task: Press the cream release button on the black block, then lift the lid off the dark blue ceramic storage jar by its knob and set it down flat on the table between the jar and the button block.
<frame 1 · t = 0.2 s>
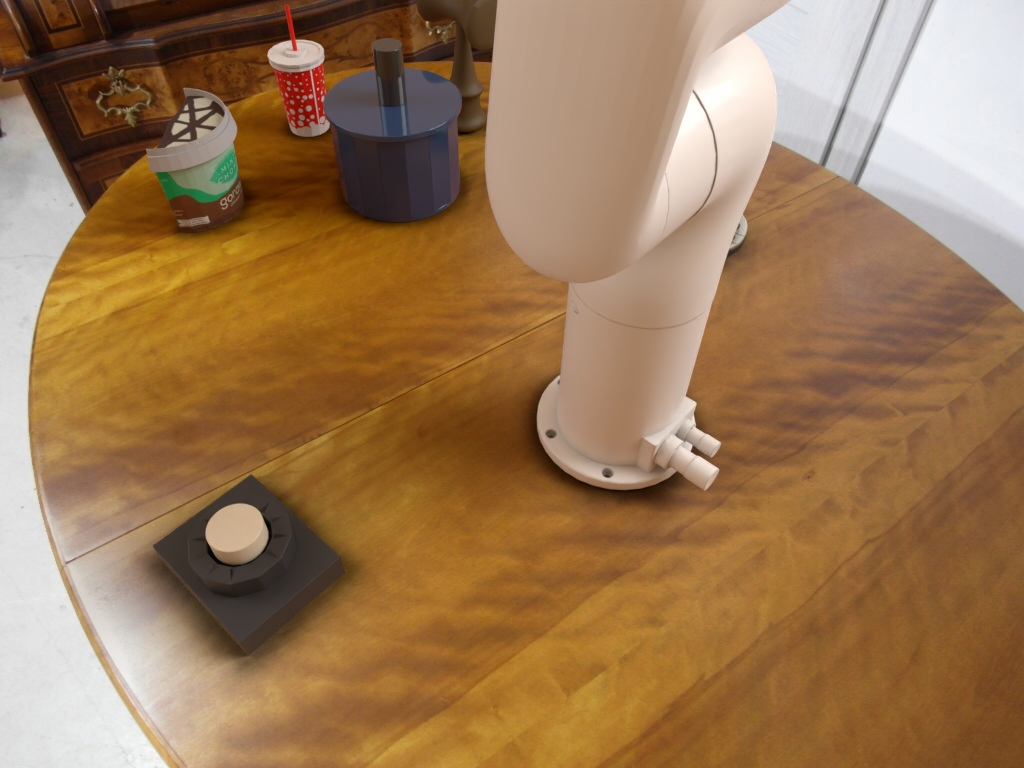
kendama: (465, 126, 93), on the table
jar: (401, 187, 84), on the table
button block: (253, 567, 54), on the table
release button: (237, 533, 50), point 4 cm above the table, slide at 0.1 cm
food container: (225, 207, 81), on the table
jar lid: (393, 105, 77), point 9 cm above the table, touching jar
salad plate: (652, 227, 80), on the table
beverage cup: (310, 128, 92), on the table
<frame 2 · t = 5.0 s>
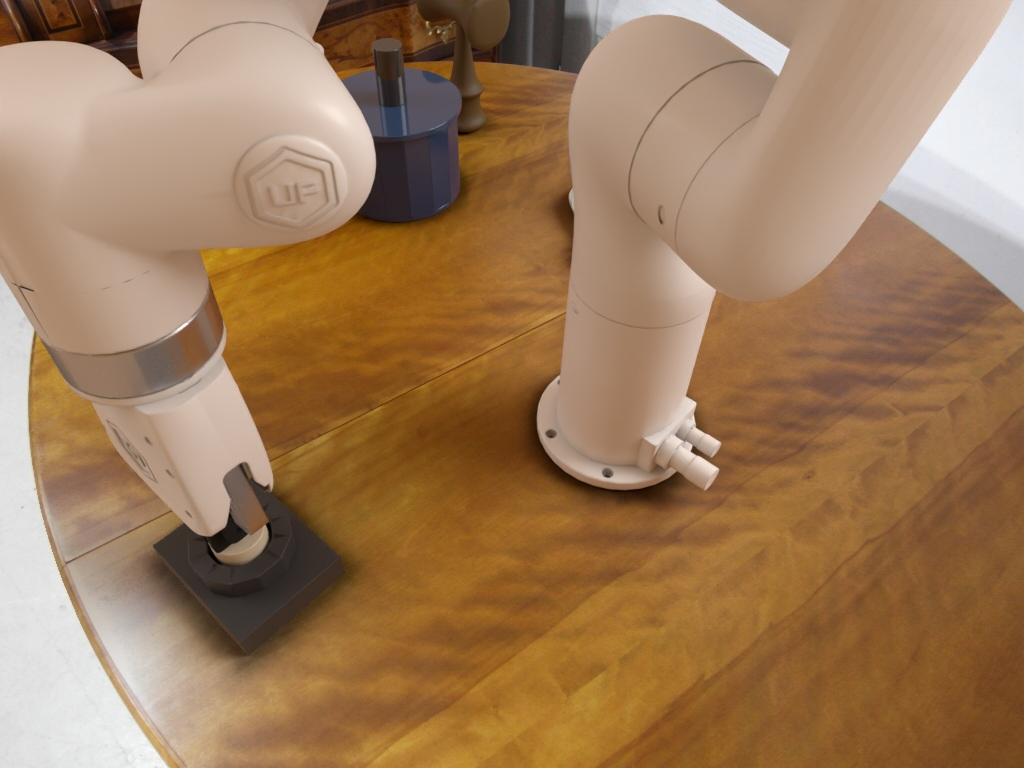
hand: (231, 531, 50), 5 cm above the table, tool pointing down, fingers closed
release button: (239, 537, 51), point 4 cm above the table, slide at -0.3 cm, touching gripper
everything else where it was.
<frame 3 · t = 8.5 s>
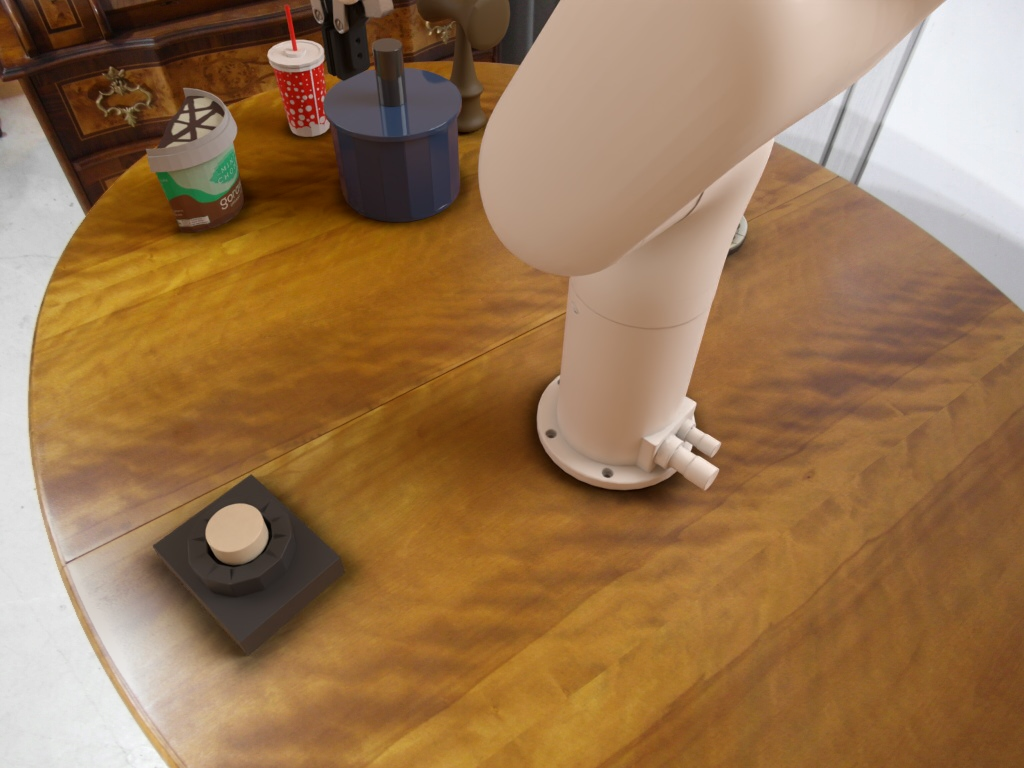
hand: (349, 71, 64), 18 cm above the table, tool pointing down, fingers closed
release button: (237, 533, 50), point 4 cm above the table, slide at 0.1 cm
everything else where it was.
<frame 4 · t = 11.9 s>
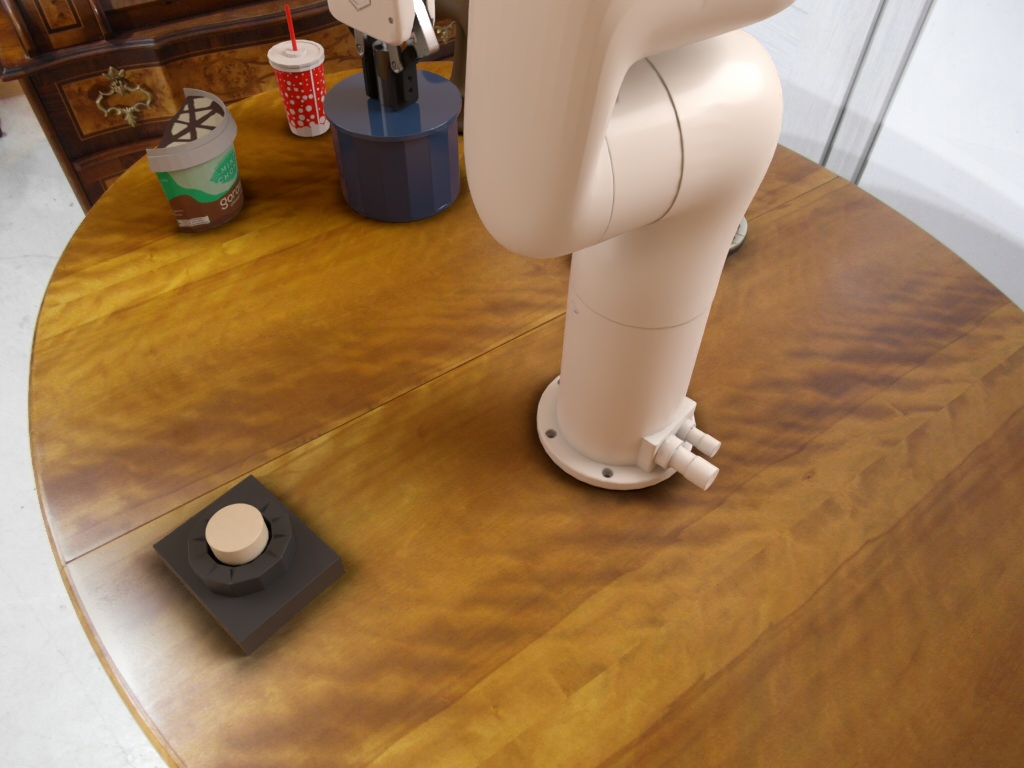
hand: (392, 97, 76), 10 cm above the table, tool pointing down, fingers closed on jar lid, 2 cm apart
jar lid: (393, 105, 77), point 10 cm above the table, touching gripper, jar
everything else where it was.
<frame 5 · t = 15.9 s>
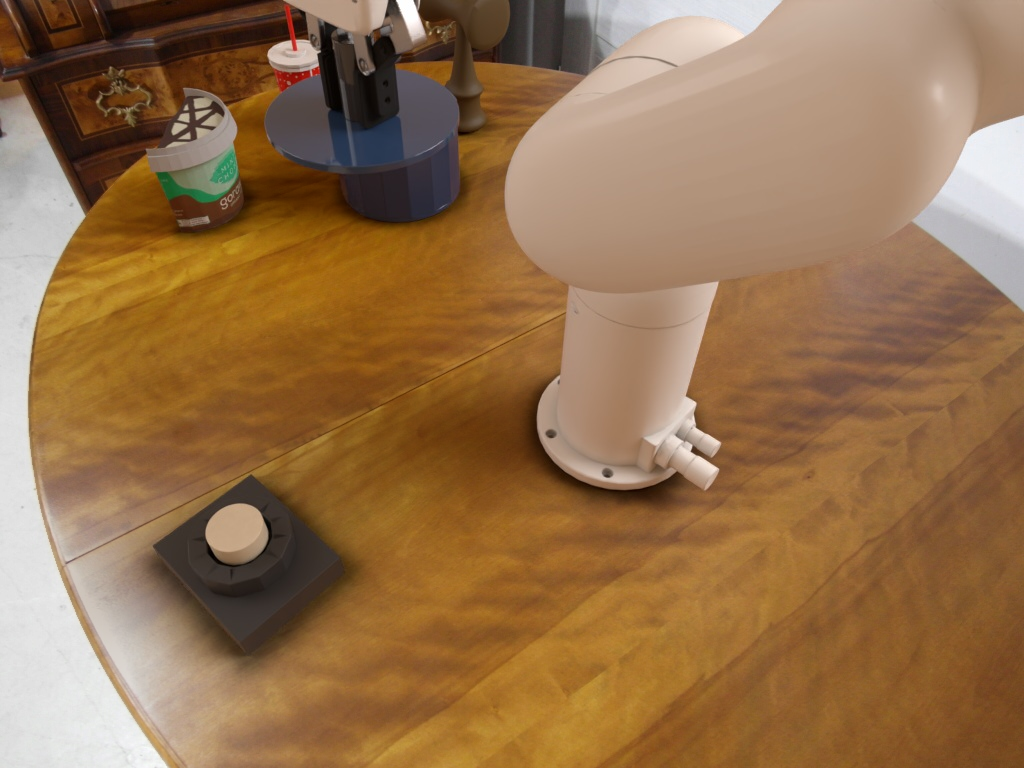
hand: (362, 108, 54), 21 cm above the table, tool pointing down, fingers closed on jar lid, 2 cm apart
jar lid: (363, 120, 55), point 20 cm above the table, touching gripper
everything else where it was.
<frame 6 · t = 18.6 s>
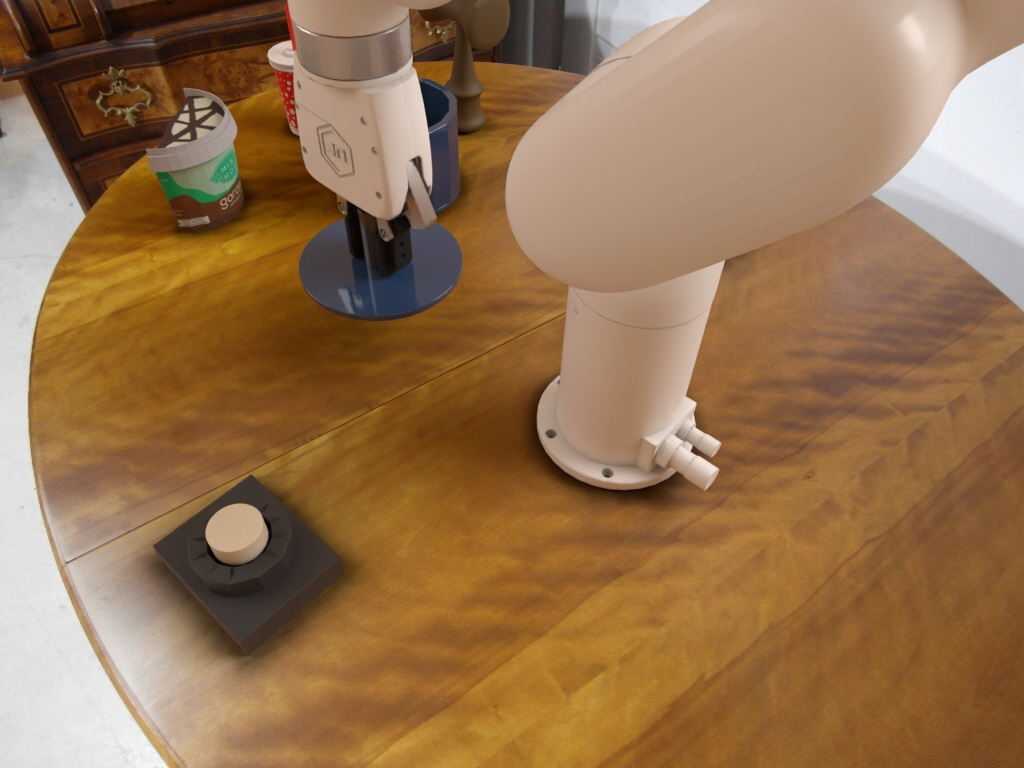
hand: (381, 257, 64), 7 cm above the table, tool pointing down, fingers closed on jar lid, 2 cm apart
jar lid: (382, 265, 65), point 7 cm above the table, touching gripper
everything else where it was.
when the fingers open (1 cm above the table, at t = 20.2 s): jar lid stays where it is, point 1 cm above the table.
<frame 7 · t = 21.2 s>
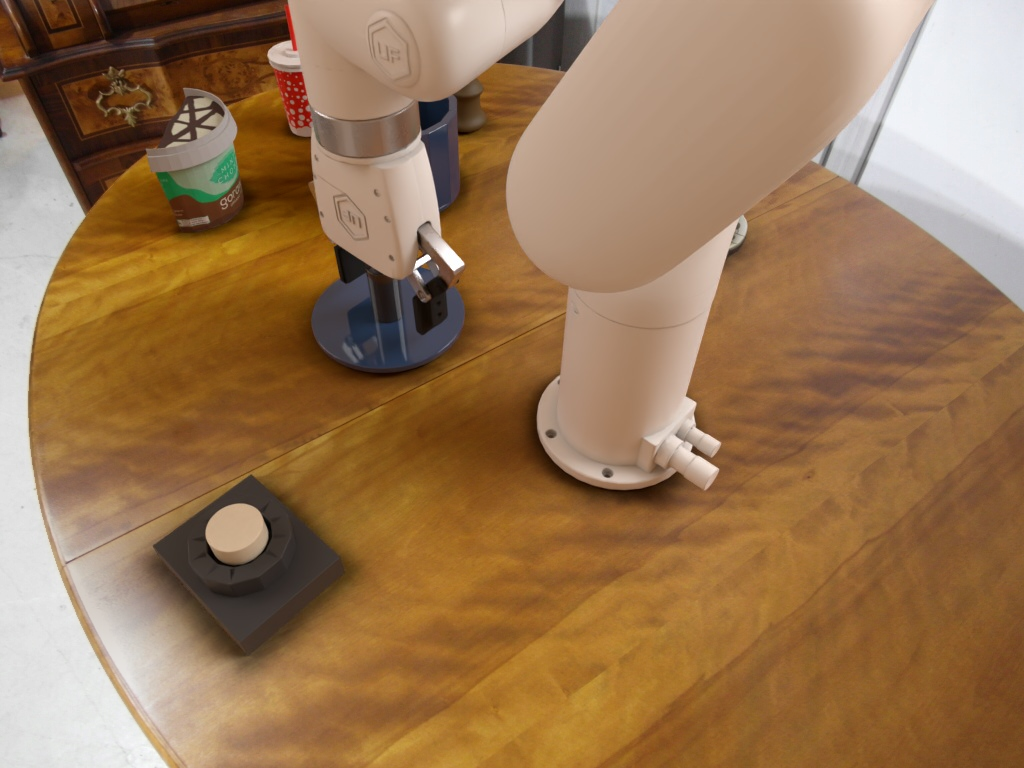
hand: (393, 299, 68), 3 cm above the table, tool pointing down, fingers open, 9 cm apart
jar lid: (389, 317, 70), point 1 cm above the table
everything else where it was.
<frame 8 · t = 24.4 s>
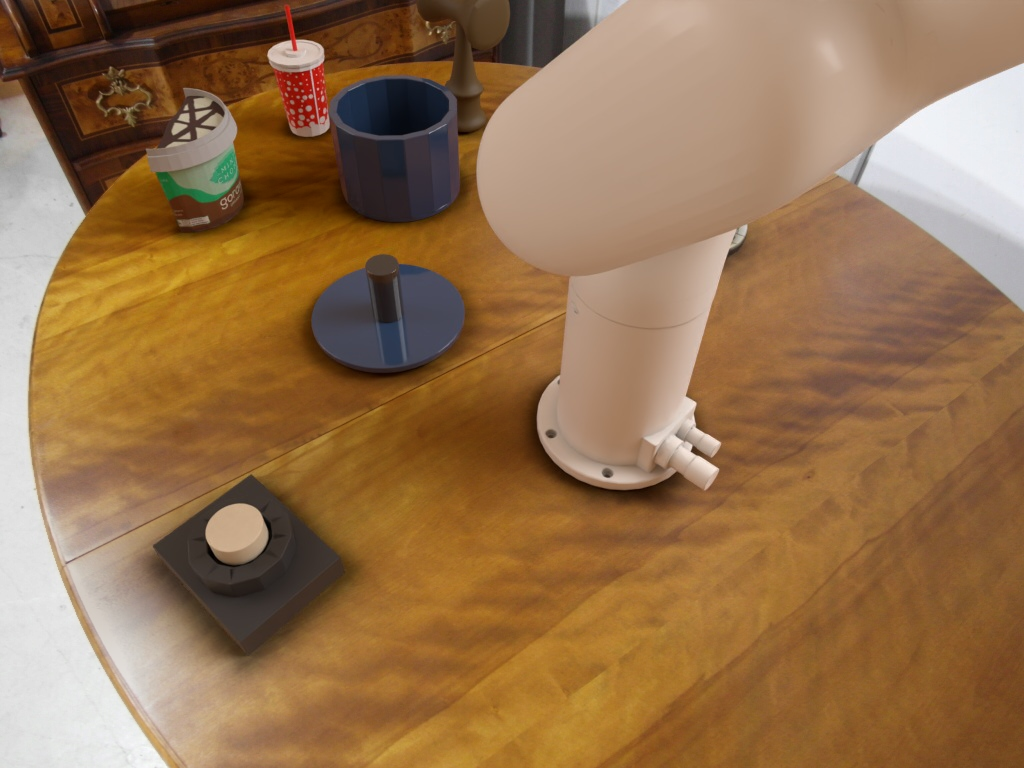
nothing on the table moved.
at the end: release button pushed in 1.1 cm at the most during the clip, back to where it started at the end; jar lid inside the target area (0.3 cm from its centre), point 0.6 cm above the table; jar lid tilted 0° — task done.
